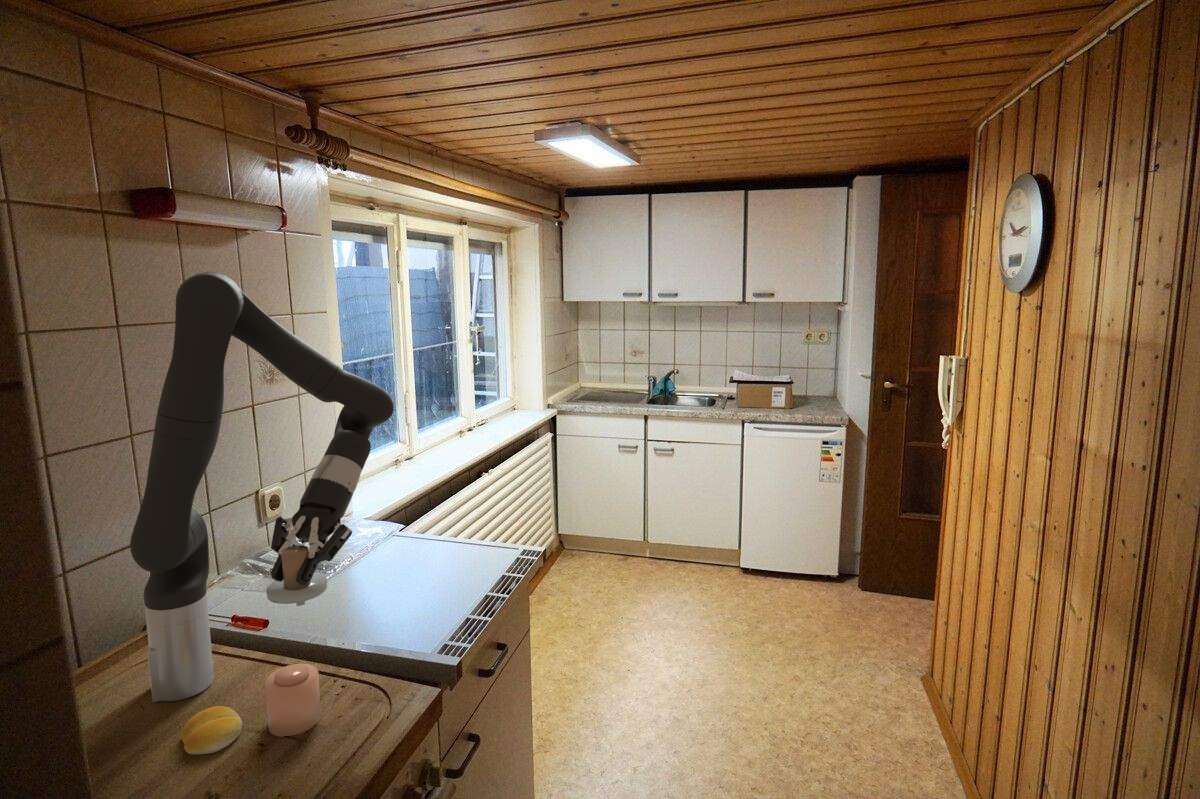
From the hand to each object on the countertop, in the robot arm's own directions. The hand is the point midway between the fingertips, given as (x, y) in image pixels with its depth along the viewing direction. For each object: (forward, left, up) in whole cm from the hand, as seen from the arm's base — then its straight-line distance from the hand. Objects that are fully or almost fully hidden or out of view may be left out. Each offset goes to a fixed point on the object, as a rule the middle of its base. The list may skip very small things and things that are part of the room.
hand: (288, 581), depth 102 cm
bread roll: (-12, +4, -26) cm, 29 cm away
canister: (0, +1, -26) cm, 26 cm away
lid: (+1, +1, -4) cm, 4 cm away
